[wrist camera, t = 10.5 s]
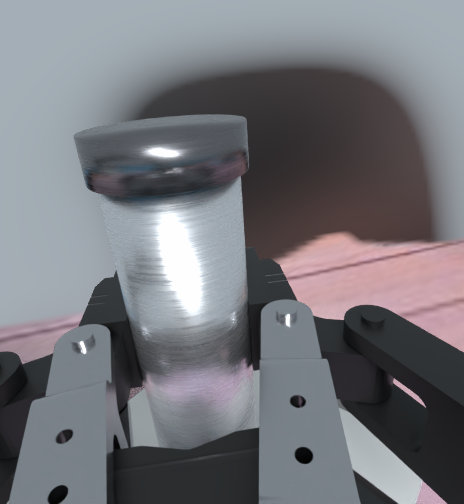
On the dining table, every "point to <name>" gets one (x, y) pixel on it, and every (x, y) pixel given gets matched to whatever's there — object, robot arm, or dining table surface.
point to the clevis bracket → (357, 437)
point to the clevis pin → (180, 265)
